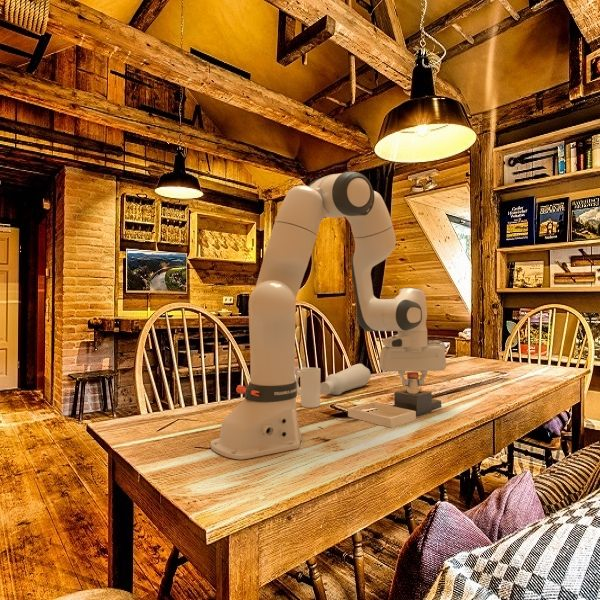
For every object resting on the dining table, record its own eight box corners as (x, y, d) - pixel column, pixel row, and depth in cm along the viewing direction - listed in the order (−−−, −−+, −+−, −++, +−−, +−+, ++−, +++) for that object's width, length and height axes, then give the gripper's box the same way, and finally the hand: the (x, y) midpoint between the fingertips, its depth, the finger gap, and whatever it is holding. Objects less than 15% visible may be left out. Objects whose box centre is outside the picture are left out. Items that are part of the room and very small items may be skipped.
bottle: (348, 375, 176) (309, 390, 152) (359, 358, 173) (320, 370, 149) (365, 389, 172) (327, 406, 147) (376, 372, 169) (339, 386, 144)
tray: (391, 428, 112) (391, 418, 112) (348, 416, 124) (347, 408, 124) (416, 420, 120) (415, 411, 120) (373, 409, 132) (373, 401, 132)
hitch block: (416, 416, 123) (416, 396, 123) (394, 411, 129) (394, 392, 129) (445, 407, 134) (445, 388, 134) (423, 403, 140) (423, 385, 140)
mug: (324, 405, 138) (324, 368, 138) (311, 409, 133) (311, 371, 133) (302, 400, 145) (302, 366, 145) (288, 404, 140) (288, 368, 140)
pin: (414, 413, 127) (414, 374, 127) (405, 411, 129) (404, 372, 129) (421, 411, 129) (420, 372, 129) (411, 409, 131) (411, 371, 132)
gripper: (440, 339, 133) (441, 382, 133) (377, 340, 132) (378, 384, 131) (449, 340, 127) (450, 386, 127) (383, 341, 125) (383, 388, 125)
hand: (412, 385), depth 129 cm, fingers closed on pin, 3 cm apart
